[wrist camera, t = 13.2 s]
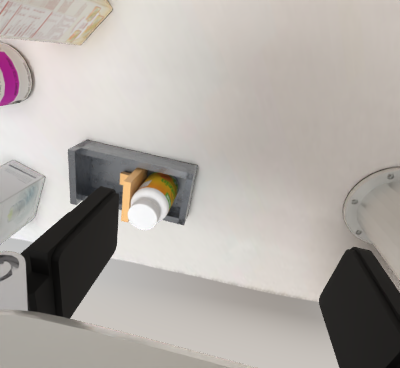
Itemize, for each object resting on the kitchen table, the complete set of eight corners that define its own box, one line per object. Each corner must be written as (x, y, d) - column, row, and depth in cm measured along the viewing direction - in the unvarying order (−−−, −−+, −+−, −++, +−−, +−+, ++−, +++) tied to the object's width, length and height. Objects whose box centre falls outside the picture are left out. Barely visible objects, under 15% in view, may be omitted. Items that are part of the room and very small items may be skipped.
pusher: (148, 163, 40) (130, 182, 34) (144, 199, 43) (127, 222, 37) (123, 158, 40) (101, 175, 34) (121, 193, 43) (101, 215, 37)
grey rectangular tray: (197, 165, 40) (192, 178, 35) (188, 213, 44) (182, 230, 39) (87, 139, 41) (67, 149, 36) (87, 189, 45) (70, 203, 40)
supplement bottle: (185, 190, 41) (171, 224, 33) (160, 205, 43) (139, 240, 35) (166, 163, 40) (145, 191, 31) (140, 179, 42) (113, 210, 33)
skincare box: (36, 219, 50) (-12, 255, 40) (5, 203, 49) (-51, 236, 40) (47, 176, 45) (-4, 206, 36) (13, 158, 44) (-49, 184, 35)
